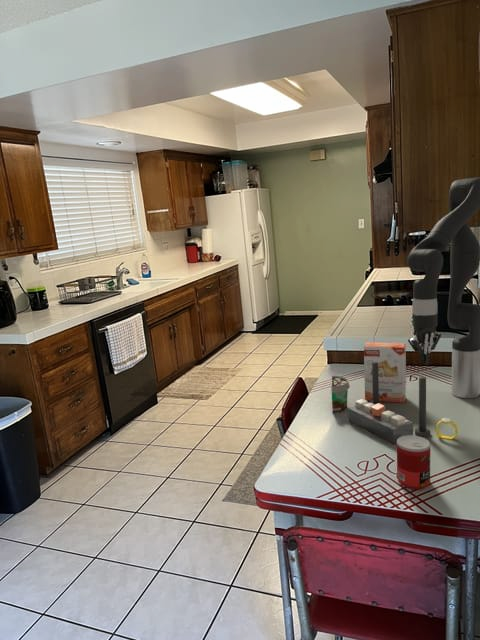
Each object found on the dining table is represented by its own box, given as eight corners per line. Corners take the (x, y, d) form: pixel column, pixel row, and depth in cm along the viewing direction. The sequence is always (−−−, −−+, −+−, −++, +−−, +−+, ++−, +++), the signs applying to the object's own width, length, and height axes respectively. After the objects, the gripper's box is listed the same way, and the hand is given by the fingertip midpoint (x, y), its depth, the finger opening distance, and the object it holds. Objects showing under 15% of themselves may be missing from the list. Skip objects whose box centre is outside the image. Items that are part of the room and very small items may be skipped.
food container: (350, 414, 164) (349, 387, 162) (332, 414, 166) (331, 387, 164) (350, 400, 176) (349, 375, 174) (333, 400, 178) (331, 375, 175)
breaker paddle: (379, 409, 152) (378, 403, 152) (385, 412, 150) (384, 405, 149) (372, 413, 151) (371, 407, 151) (378, 416, 149) (377, 409, 148)
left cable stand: (376, 409, 167) (375, 360, 163) (385, 413, 163) (384, 362, 159) (366, 412, 165) (365, 362, 161) (375, 416, 161) (374, 365, 157)
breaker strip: (367, 416, 162) (366, 396, 161) (413, 437, 145) (412, 416, 143) (348, 422, 159) (347, 402, 157) (393, 445, 141) (393, 423, 140)
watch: (435, 439, 143) (434, 420, 142) (437, 435, 146) (435, 417, 145) (457, 441, 140) (456, 422, 139) (458, 437, 142) (457, 418, 141)
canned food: (426, 493, 117) (426, 451, 114) (393, 485, 121) (392, 445, 119) (433, 477, 123) (433, 438, 121) (401, 471, 127) (400, 432, 125)
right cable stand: (422, 429, 149) (421, 374, 146) (433, 434, 146) (433, 378, 142) (411, 433, 147) (411, 377, 144) (423, 438, 144) (423, 381, 140)
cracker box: (364, 401, 175) (363, 345, 170) (366, 395, 180) (365, 341, 176) (405, 403, 170) (404, 346, 165) (406, 397, 175) (405, 342, 171)
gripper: (430, 307, 159) (429, 357, 163) (400, 313, 154) (401, 365, 157) (449, 310, 153) (448, 362, 156) (419, 316, 147) (419, 370, 151)
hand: (424, 363), depth 157 cm, fingers closed
